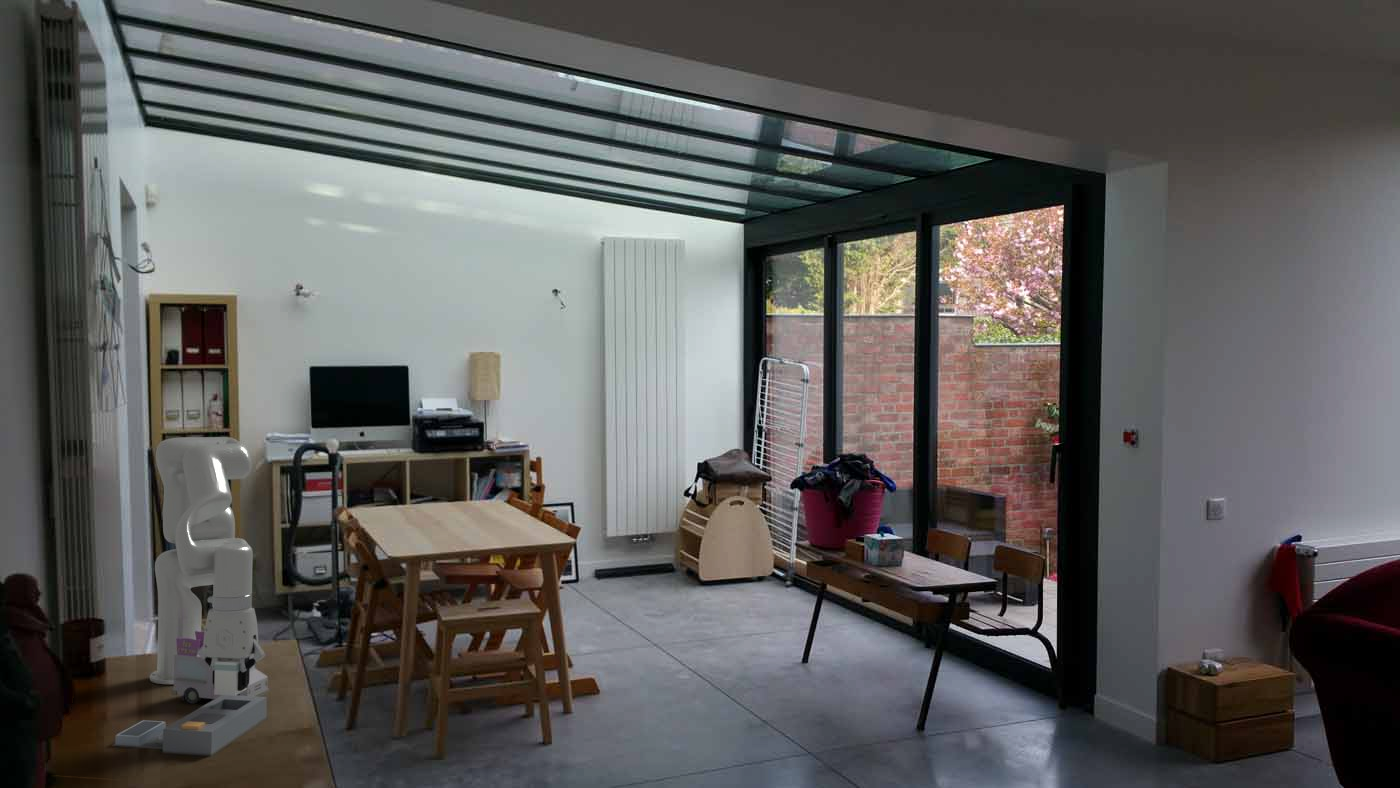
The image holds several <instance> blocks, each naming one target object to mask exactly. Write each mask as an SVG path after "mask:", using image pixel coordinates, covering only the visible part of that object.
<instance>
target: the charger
mask: <svg viewBox="0 0 1400 788" xmlns="http://www.w3.org/2000/svg"><path fill="white" fill-rule="evenodd" d="M238 672H240V666H239V661H238V659H224V658H221V659H219V660H217V661H215V684H214V695H231V696H236V695H237V694H239V693H241V692H243V691H244V690H246V689H247V688H245V689H243V690H242V691H238Z"/></svg>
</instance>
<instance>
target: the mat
mask: <svg viewBox="0 0 1400 788" xmlns="http://www.w3.org/2000/svg"><path fill="white" fill-rule="evenodd" d="M111 747H125V748H127V747H128V748H142V749H143V748H144V749H145V748H146V749H159V750H160V749H161V750H163V733H161V734H159V735H157V736H156V737H154V738H152V739H151V740H149V741H147V742H145V743H144V744H142V745H140V746H128V745H115V743H113V744H112V745H111Z"/></svg>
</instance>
